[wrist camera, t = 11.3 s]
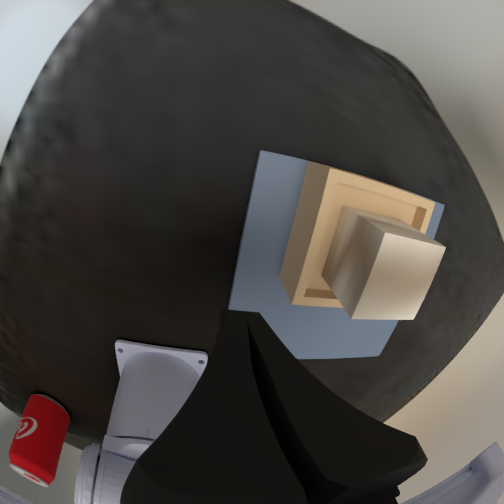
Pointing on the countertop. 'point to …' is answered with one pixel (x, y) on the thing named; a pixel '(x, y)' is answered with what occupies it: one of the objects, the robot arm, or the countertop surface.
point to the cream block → (380, 265)
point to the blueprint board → (312, 253)
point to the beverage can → (39, 439)
